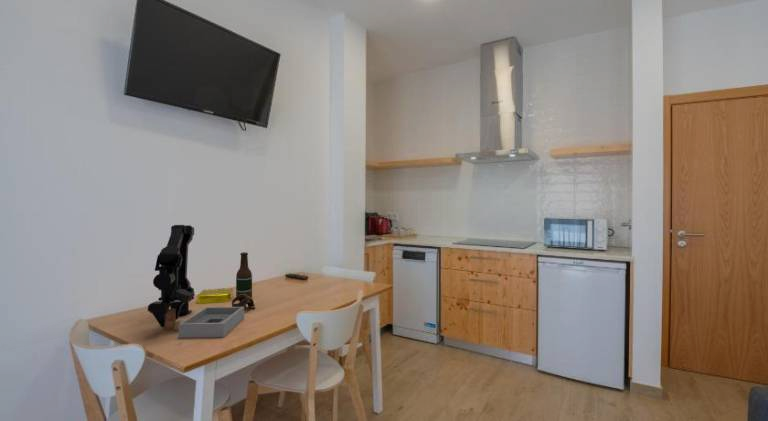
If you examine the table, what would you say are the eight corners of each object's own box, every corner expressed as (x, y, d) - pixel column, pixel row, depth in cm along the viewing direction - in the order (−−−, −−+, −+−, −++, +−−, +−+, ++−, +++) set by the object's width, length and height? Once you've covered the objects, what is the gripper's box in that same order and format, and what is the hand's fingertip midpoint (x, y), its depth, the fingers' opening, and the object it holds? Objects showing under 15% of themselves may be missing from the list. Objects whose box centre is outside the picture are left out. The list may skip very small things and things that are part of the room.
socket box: (205, 318, 151) (205, 307, 151) (244, 318, 152) (244, 306, 152) (178, 337, 129) (178, 324, 129) (223, 337, 130) (223, 323, 130)
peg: (167, 326, 141) (167, 308, 141) (177, 326, 141) (177, 308, 141) (161, 329, 137) (161, 311, 137) (172, 329, 137) (172, 311, 137)
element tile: (196, 304, 174) (196, 295, 174) (203, 297, 189) (203, 288, 189) (229, 302, 178) (229, 293, 178) (233, 295, 193) (233, 286, 193)
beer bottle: (255, 298, 185) (255, 252, 185) (242, 301, 179) (242, 254, 178) (245, 296, 189) (245, 251, 189) (232, 299, 183) (232, 252, 183)
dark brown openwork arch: (258, 311, 164) (250, 298, 160) (238, 322, 161) (229, 309, 157) (253, 299, 174) (246, 286, 170) (235, 309, 171) (226, 296, 167)
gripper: (178, 288, 130) (178, 331, 130) (201, 278, 149) (201, 315, 149) (146, 289, 130) (146, 331, 130) (174, 278, 148) (174, 316, 149)
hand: (169, 323), depth 139 cm, fingers open, 9 cm apart
